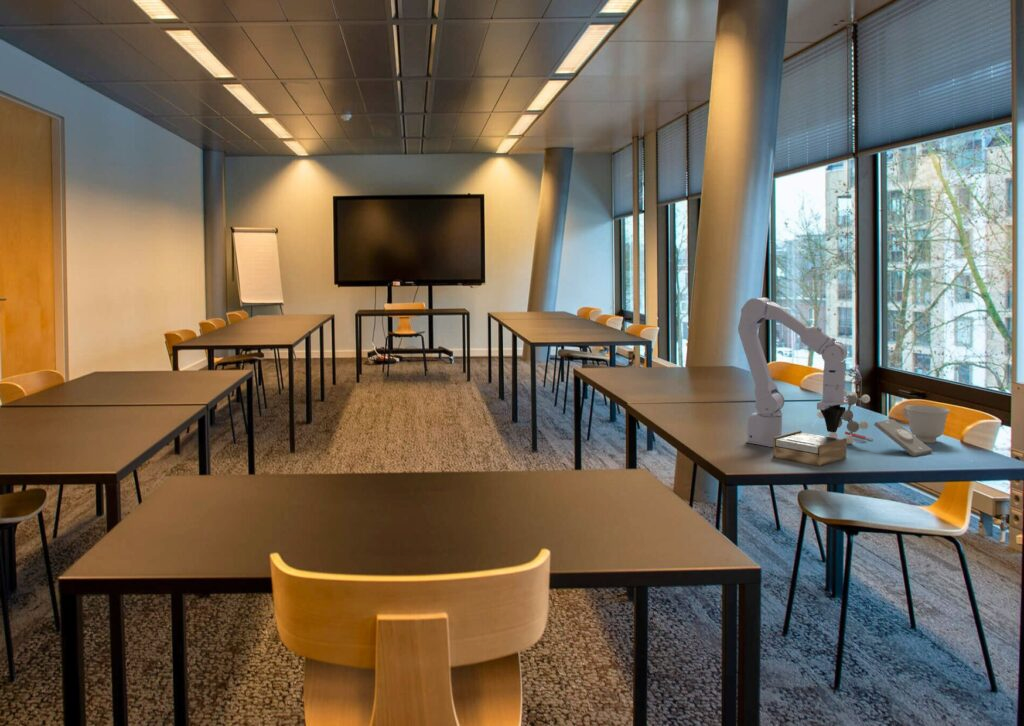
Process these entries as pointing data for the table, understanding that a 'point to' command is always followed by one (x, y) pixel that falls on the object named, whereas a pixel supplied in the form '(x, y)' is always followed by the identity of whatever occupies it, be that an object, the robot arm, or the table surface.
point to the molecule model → (850, 418)
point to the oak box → (825, 456)
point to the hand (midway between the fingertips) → (831, 431)
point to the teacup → (926, 421)
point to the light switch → (903, 437)
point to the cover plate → (804, 442)
